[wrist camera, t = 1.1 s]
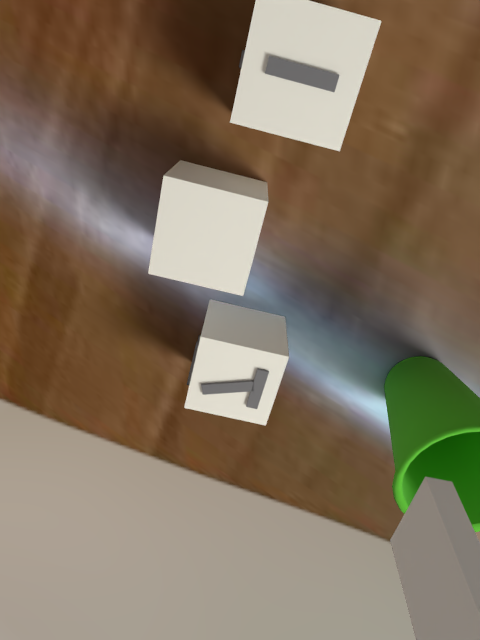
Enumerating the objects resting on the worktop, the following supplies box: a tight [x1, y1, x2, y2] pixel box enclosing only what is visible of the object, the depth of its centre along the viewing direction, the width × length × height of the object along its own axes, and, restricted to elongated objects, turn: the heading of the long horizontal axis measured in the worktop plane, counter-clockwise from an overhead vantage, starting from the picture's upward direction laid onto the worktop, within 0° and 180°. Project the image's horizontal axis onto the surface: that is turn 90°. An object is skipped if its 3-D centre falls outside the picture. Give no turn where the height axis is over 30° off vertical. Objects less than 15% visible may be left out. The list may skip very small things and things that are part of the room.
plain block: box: [148, 160, 268, 296], centre depth 30 cm, size 6×6×6 cm
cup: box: [384, 356, 480, 532], centre depth 33 cm, size 9×9×11 cm
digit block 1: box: [230, 0, 381, 151], centre depth 25 cm, size 6×6×6 cm
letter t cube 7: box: [184, 299, 289, 425], centre depth 34 cm, size 6×6×6 cm
